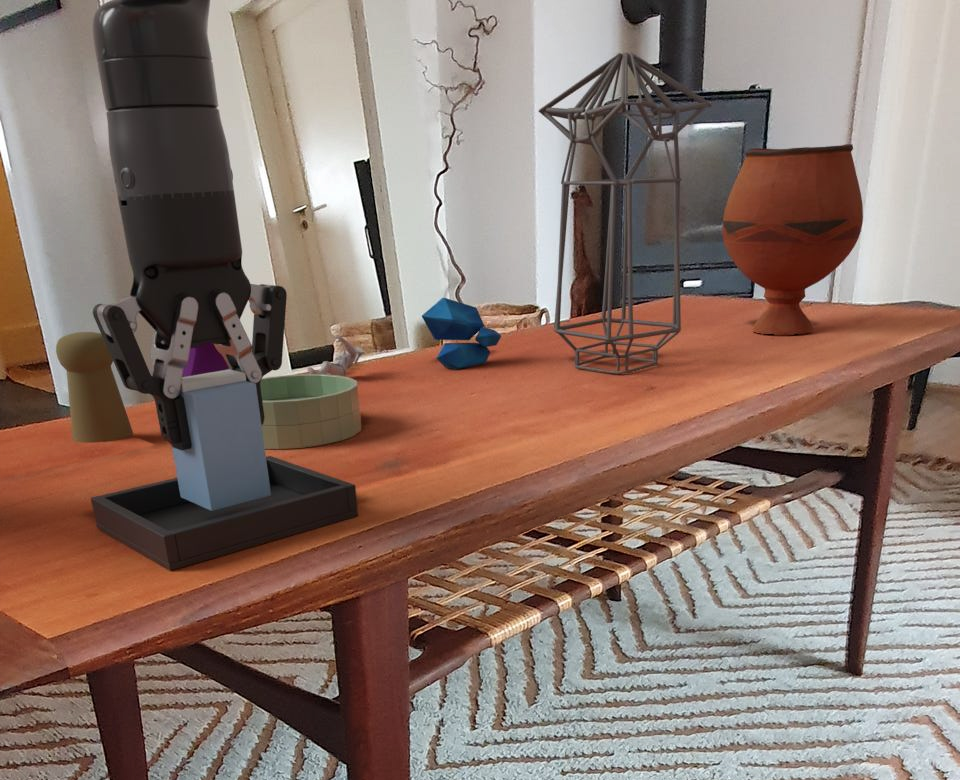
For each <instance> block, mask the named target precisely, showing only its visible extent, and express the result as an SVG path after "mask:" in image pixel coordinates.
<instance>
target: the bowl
mask: <svg viewBox="0 0 960 780" xmlns="http://www.w3.org/2000/svg"><path fill="white" fill-rule="evenodd" d="M260 387H261V395H262V402H263V410H264V416H265V418H264V423H263V425H262V433H263V440H264V447H265V450H291V449H292V450H293V449H305V448H311V447H319V446H320V447H321V446H325V445H329V444H333V443H338V442H341V441H344V440H347V439H350V438H352V437H355V436H356V435H358V433H360V432H361V431H362V416H361V405H360V394H359V382H358V381H357V380H356V379H354V378H352V377H348V376H339V375H327V374H309V373H305V374H304V373H300V374H285V375H275V376H267V377H262V379H261V382H260Z"/></svg>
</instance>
